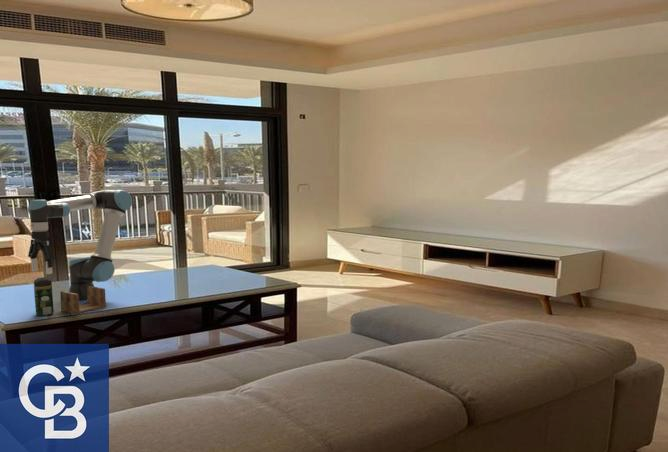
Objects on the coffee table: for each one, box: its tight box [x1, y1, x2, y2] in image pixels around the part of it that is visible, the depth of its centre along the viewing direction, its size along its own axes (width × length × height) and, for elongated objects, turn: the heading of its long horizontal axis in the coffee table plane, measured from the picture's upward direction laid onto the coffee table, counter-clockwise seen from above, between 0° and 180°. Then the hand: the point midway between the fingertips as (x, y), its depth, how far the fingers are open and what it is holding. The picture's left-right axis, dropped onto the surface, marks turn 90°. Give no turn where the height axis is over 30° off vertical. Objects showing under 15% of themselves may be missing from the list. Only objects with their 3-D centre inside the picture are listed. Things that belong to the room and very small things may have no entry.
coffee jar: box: [33, 276, 55, 317], centre depth 256 cm, size 10×8×19 cm
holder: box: [59, 286, 107, 315], centre depth 266 cm, size 14×18×10 cm
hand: (42, 272), depth 255 cm, fingers open, 13 cm apart
